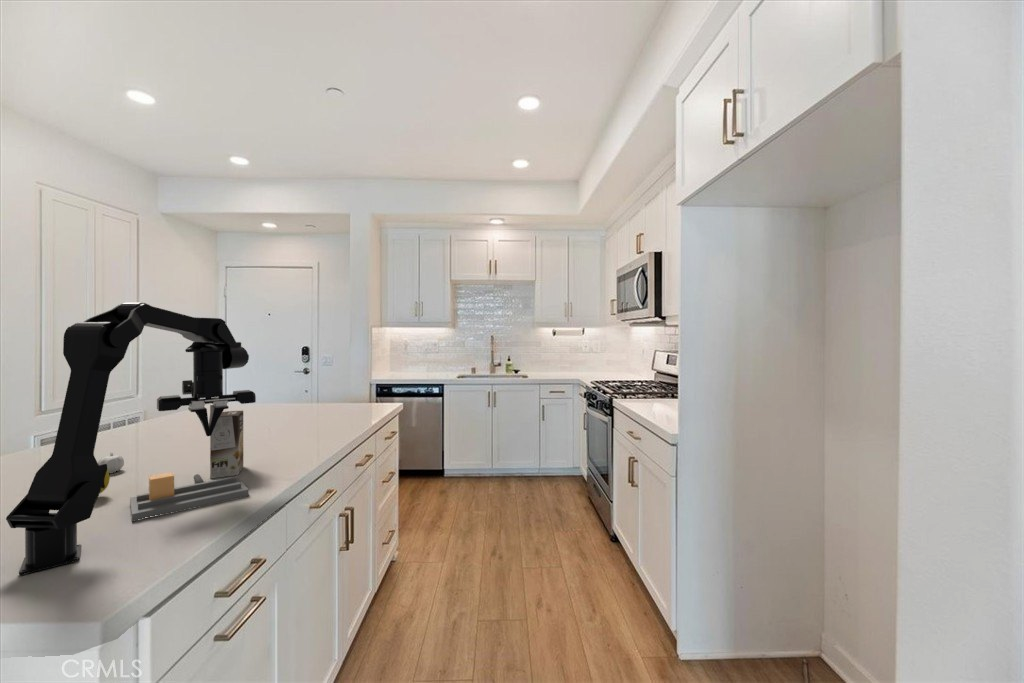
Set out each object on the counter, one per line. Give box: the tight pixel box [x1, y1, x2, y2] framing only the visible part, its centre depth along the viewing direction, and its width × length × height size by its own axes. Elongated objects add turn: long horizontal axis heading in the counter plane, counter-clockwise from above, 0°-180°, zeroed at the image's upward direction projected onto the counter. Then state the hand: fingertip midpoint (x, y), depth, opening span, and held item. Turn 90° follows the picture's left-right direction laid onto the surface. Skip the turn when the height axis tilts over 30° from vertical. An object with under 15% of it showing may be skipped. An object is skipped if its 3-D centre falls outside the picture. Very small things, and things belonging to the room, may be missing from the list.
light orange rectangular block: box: [148, 471, 175, 500], centre depth 92 cm, size 3×4×5 cm
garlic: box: [97, 452, 125, 474], centre depth 115 cm, size 6×5×5 cm
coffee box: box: [209, 410, 244, 479], centre depth 115 cm, size 9×6×16 cm
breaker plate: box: [129, 476, 250, 522], centre depth 95 cm, size 12×20×2 cm, turn 133°
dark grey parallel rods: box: [193, 473, 205, 484], centre depth 103 cm, size 11×7×1 cm
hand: (208, 435), depth 101 cm, fingers closed
